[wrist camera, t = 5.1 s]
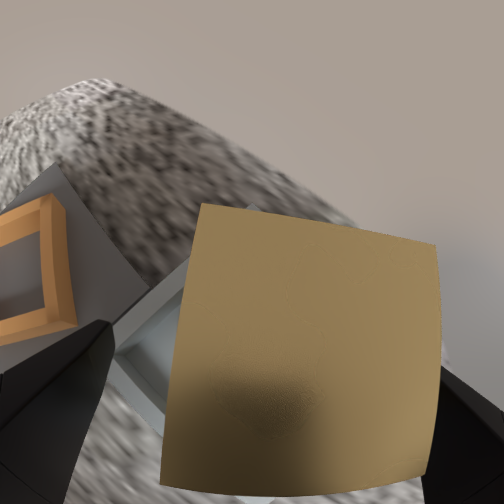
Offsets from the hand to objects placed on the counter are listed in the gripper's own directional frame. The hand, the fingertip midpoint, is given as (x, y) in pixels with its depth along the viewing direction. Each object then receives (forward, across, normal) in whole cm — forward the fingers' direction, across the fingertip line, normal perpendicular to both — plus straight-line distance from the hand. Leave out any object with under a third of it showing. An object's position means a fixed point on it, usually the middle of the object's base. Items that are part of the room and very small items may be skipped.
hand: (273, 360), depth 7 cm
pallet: (+3, +18, +8) cm, 20 cm away
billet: (+4, 0, +4) cm, 6 cm away
